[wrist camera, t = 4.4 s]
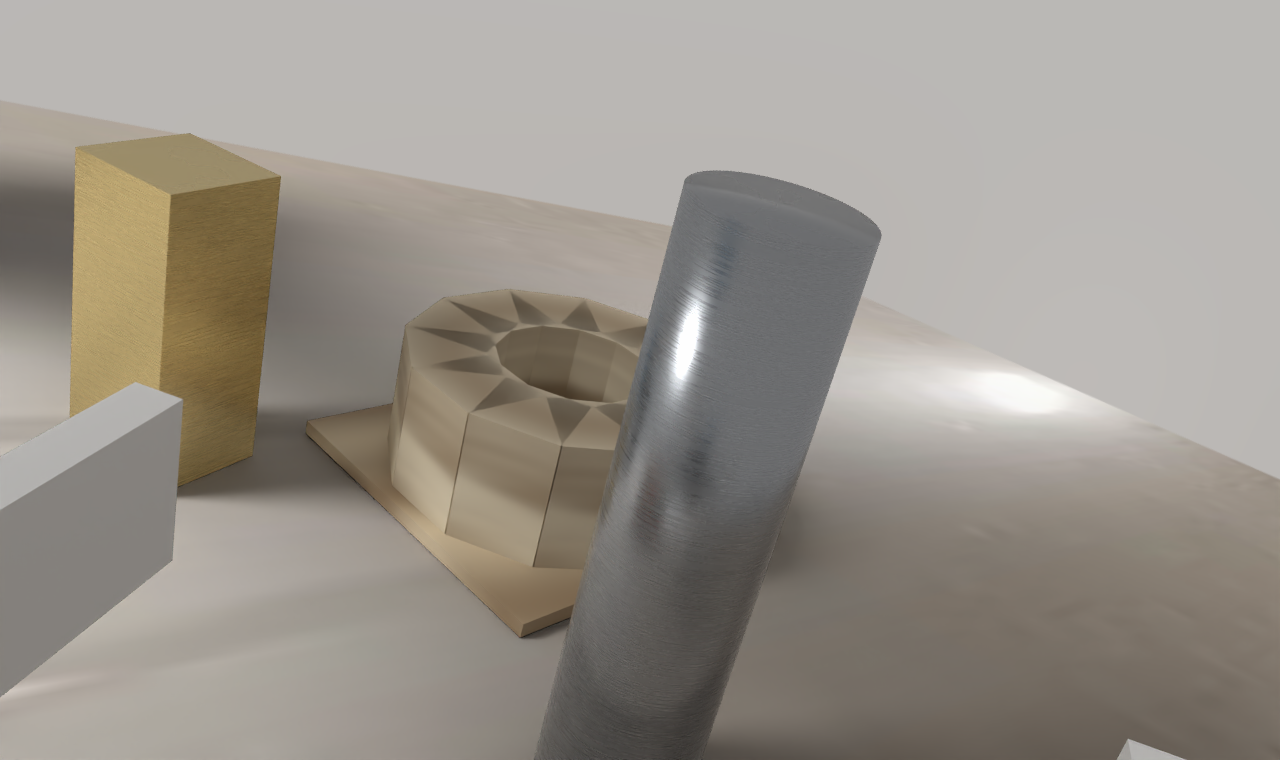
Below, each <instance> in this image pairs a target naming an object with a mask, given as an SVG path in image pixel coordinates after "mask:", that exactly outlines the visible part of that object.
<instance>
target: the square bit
mask: <svg viewBox="0 0 1280 760" xmlns="http://www.w3.org/2000/svg"><path fill="white" fill-rule="evenodd" d="M280 181H281V176H279V175H277V174H275V173H273V172H271V171H269V170H267V169H265V168H263V167H260V166H258V165H256V164H254V163H252V162H250V161H248V160H246V159H243V158H241V157H239V156H237V155H235V154H233V153H231V152H229V151H226V150H224V149H222V148H220V147H218V146H216V145H214V144H212V143H209V142H207V141H205V140H203V139H201V138H199V137H197V136H194V135H192V134H190V133H189V134H180V135H171V136H163V137H155V138H146V139H138V140H130V141H121V142H113V143H104V144H96V145H88V146H79V147H76V154H75V200H74V247H73V293H72V340H71V386H70V418H71V417H73V416H75V415H76V414H78V413H80V412H82V411H84V410H85V409H87V408H89V407H91V406H93V405H95V404H96V403H98V402H100V401H102V400H104V399H105V398H107V397H109V396H111V395H113V394H114V393H116V392H118V391H120V390H122V389H124V388H125V387H127V386H129V385H131V384H133V383H134V382H137V383H139V384H142V385H145V386H148V387H151V388H153V389H156V390H159V391H162V392H164V393H167V394H170V395H173V396H176V397H178V398H181V399H183V410H182V425H181V439H180V454H179V469H178V483H177V487H179V486H181V485H184V484H186V483H188V482H191V481H193V480H196V479H198V478H200V477H203V476H205V475H208V474H210V473H212V472H215V471H217V470H219V469H222V468H224V467H227V466H229V465H231V464H234V463H236V462H238V461H241V460H243V459H246V458H248V457H250V456H252V455H253V445H254V436H255V426H256V416H257V406H258V396H259V387H260V377H261V367H262V357H263V347H264V338H265V328H266V318H267V308H268V298H269V288H270V279H271V269H272V259H273V249H274V239H275V230H276V220H277V210H278V200H279V190H280Z"/></svg>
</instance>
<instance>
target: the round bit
mask: <svg viewBox="0 0 1280 760" xmlns="http://www.w3.org/2000/svg"><path fill="white" fill-rule="evenodd" d="M880 240H881V232H880V229H879V228H878V227H877V225H876V224H875V223H874V222H873V221H872V220H870V219H869V218H868V217H867V216H865V215H864V214H862V213H861V212H859V211H858V210H856V209H854V208H853V207H851V206H849V205H847V204H845V203H843V202H841V201H839V200H836V199H834V198H832V197H830V196H827V195H825V194H822V193H819V192H817V191H814V190H811V189H809V188H805V187H803V186H799V185H796V184H793V183H789V182H786V181H782V180H778V179H774V178H769V177H765V176H760V175H755V174H748V173H742V172H732V171H703V172H697V173H694V174H691V175H690V176H688V177H687V178H686V179H685V181H684V185H683V189H682V193H681V197H680V201H679V205H678V208H677V212H676V216H675V220H674V224H673V227H672V231H671V235H670V239H669V243H668V246H667V250H666V254H665V258H664V262H663V266H662V269H661V273H660V277H659V281H658V285H657V289H656V292H655V296H654V300H653V304H652V308H651V312H650V316H649V319H648V323H647V327H646V331H645V335H644V339H643V342H642V346H641V350H640V354H639V358H638V362H637V365H636V369H635V373H634V377H633V381H632V385H631V388H630V392H629V396H628V400H627V404H626V408H625V411H624V415H623V419H622V423H621V427H620V431H619V434H618V438H617V442H616V446H615V450H614V454H613V457H612V461H611V465H610V469H609V473H608V477H607V480H606V484H605V488H604V492H603V496H602V500H601V503H600V507H599V511H598V515H597V519H596V523H595V526H594V530H593V534H592V538H591V542H590V546H589V549H588V553H587V557H586V561H585V565H584V569H583V573H582V576H581V580H580V584H579V588H578V592H577V596H576V599H575V603H574V607H573V611H572V615H571V619H570V622H569V626H568V630H567V634H566V638H565V642H564V645H563V649H562V653H561V657H560V661H559V665H558V668H557V672H556V676H555V680H554V684H553V688H552V691H551V695H550V699H549V703H548V707H547V711H546V714H545V718H544V722H543V726H542V730H541V734H540V737H539V741H538V745H537V749H536V753H535V757H534V760H701V758H702V756H703V753H704V750H705V747H706V744H707V741H708V738H709V735H710V732H711V729H712V727H713V724H714V721H715V718H716V715H717V712H718V709H719V706H720V703H721V701H722V698H723V695H724V692H725V689H726V686H727V683H728V680H729V677H730V674H731V672H732V669H733V666H734V663H735V660H736V657H737V654H738V651H739V648H740V645H741V643H742V640H743V637H744V634H745V631H746V628H747V625H748V622H749V619H750V617H751V614H752V611H753V608H754V605H755V602H756V599H757V596H758V593H759V590H760V588H761V585H762V582H763V579H764V576H765V573H766V570H767V567H768V564H769V561H770V559H771V556H772V553H773V550H774V547H775V544H776V541H777V538H778V535H779V532H780V530H781V527H782V524H783V521H784V518H785V515H786V512H787V509H788V506H789V504H790V501H791V498H792V495H793V492H794V489H795V486H796V483H797V480H798V477H799V475H800V472H801V469H802V466H803V463H804V460H805V457H806V454H807V451H808V448H809V446H810V443H811V440H812V437H813V434H814V431H815V428H816V425H817V422H818V420H819V417H820V414H821V411H822V408H823V405H824V402H825V399H826V396H827V393H828V391H829V388H830V385H831V382H832V379H833V376H834V373H835V370H836V367H837V364H838V362H839V359H840V356H841V353H842V350H843V347H844V344H845V341H846V338H847V336H848V333H849V330H850V327H851V324H852V321H853V318H854V315H855V312H856V309H857V307H858V304H859V301H860V298H861V295H862V292H863V289H864V286H865V283H866V280H867V278H868V275H869V272H870V269H871V266H872V263H873V260H874V257H875V254H876V251H877V249H878V246H879V243H880Z"/></svg>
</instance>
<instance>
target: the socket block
mask: <svg viewBox="0 0 1280 760" xmlns="http://www.w3.org/2000/svg"><path fill="white" fill-rule="evenodd" d="M647 323H648V319H646V318H643V317H640V316H637V315H634V314H631V313H628V312H625V311H622V310H619V309H616V308H613V307H610V306H607V305H604V304H601V303H598V302H595V301H592V300H589V299H585V298H579V297H570V296H562V295H554V294H546V293H537V292H529V291H521V290H512V289H505V290H497V291H490V292H482V293H475V294H467V295H460V296H452V297H445V298H442V299H441V300H439V301H438V302H437V303H435V304H434V305H432V306H431V307H430V308H428V309H427V310H426V311H424V312H423V313H421V314H420V315H419V316H417V317H416V318H414V319H413V320H412V321H410V322H409V323H408V324H406V325H405V331H404V338H403V344H402V350H401V356H400V363H399V369H398V375H397V381H396V388H395V394H394V400H393V403H392V404H387V405H382V406H378V407H373V408H368V409H363V410H358V411H353V412H348V413H343V414H338V415H333V416H328V417H323V418H319V419H314V420H309V421H307V426H306V434H307V435H308V436H310V437H311V438H312V439H313V440H314V441H315V442H316V443H317V444H318V445H319V446H320V447H321V448H322V449H323V450H324V451H325V452H326V453H327V454H328V455H329V456H330V457H332V458H333V459H334V460H335V461H336V462H337V463H338V464H339V465H340V466H341V467H342V468H343V469H344V470H345V471H346V472H347V473H348V474H349V475H350V476H351V477H352V478H354V479H355V480H356V481H357V482H358V483H359V484H360V485H361V486H362V487H363V488H364V489H365V490H366V491H367V492H368V493H369V494H370V495H371V496H372V497H373V498H374V499H376V500H377V501H378V502H379V503H380V504H381V505H382V506H383V507H384V508H385V509H386V510H387V511H388V512H389V513H390V514H391V515H392V516H393V517H394V518H395V519H396V520H398V521H399V522H400V523H401V524H402V525H403V526H404V527H405V528H406V529H407V530H408V531H409V532H410V533H411V534H412V535H413V536H414V537H415V538H416V539H417V540H418V541H420V542H421V543H422V544H423V545H424V546H425V547H426V548H427V549H428V550H429V551H430V552H431V553H432V554H433V555H434V556H435V557H436V558H437V559H438V560H439V561H440V562H442V563H443V564H444V565H445V566H446V567H447V568H448V569H449V570H450V571H451V572H452V573H453V574H454V575H455V576H456V577H457V578H458V579H459V580H460V581H461V582H462V583H464V584H465V585H466V586H467V587H468V588H469V589H470V590H471V591H472V592H473V593H474V594H475V595H476V596H477V597H478V598H479V599H480V600H481V601H482V602H483V603H484V604H486V605H487V606H488V607H489V608H490V609H491V610H492V611H493V612H494V613H495V614H496V615H497V616H498V617H499V618H500V619H501V620H502V621H503V622H504V623H505V624H506V625H508V626H509V627H510V628H511V629H512V630H513V631H514V632H515V633H516V634H517V635H518V636H519V637H523V636H525V635H528V634H530V633H533V632H535V631H538V630H540V629H543V628H545V627H547V626H550V625H552V624H555V623H557V622H560V621H562V620H565V619H567V618H570V617H571V615H572V611H573V607H574V603H575V599H576V596H577V592H578V588H579V584H580V580H581V576H582V573H583V569H584V565H585V561H586V557H587V553H588V549H589V546H590V542H591V538H592V534H593V530H594V526H595V523H596V519H597V515H598V511H599V507H600V503H601V500H602V496H603V492H604V488H605V484H606V480H607V477H608V473H609V469H610V465H611V461H612V457H613V454H614V450H615V446H616V442H617V438H618V434H619V431H620V427H621V423H622V419H623V415H624V411H625V408H626V404H627V400H628V396H629V392H630V388H631V385H632V381H633V377H634V373H635V369H636V365H637V362H638V358H639V354H640V350H641V346H642V342H643V339H644V335H645V331H646V327H647Z"/></svg>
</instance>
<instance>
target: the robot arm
mask: <svg viewBox="0 0 1280 760" xmlns="http://www.w3.org/2000/svg"><path fill="white" fill-rule="evenodd" d="M182 410H183V399H181V398H178V397H176V396H173V395H170V394H167V393H164V392H162V391H159V390H156V389H153V388H151V387H148V386H145V385H142V384H139V383H137V382H134V383H133V384H131V385H129V386H127V387H125V388H124V389H122V390H120V391H118V392H116V393H114V394H113V395H111V396H109V397H107V398H105V399H104V400H102V401H100V402H98V403H96V404H95V405H93V406H91V407H89V408H87V409H85V410H84V411H82V412H80V413H78V414H76V415H75V416H73V417H71V418H69V419H67V420H65V421H64V422H62V423H60V424H58V425H56V426H55V427H53V428H51V429H49V430H47V431H45V432H44V433H42V434H40V435H38V436H36V437H35V438H33V439H31V440H29V441H27V442H25V443H24V444H22V445H20V446H18V447H16V448H15V449H13V450H11V451H9V452H7V453H6V454H4V455H2V456H0V697H1V696H2V695H4V694H5V693H6V692H7V691H9V690H10V689H11V688H13V687H14V686H15V685H16V684H18V683H19V682H20V681H21V680H23V679H24V678H25V677H26V676H28V675H29V674H30V673H31V672H33V671H34V670H35V669H36V668H38V667H39V666H40V665H41V664H43V663H44V662H45V661H46V660H48V659H49V658H50V657H52V656H53V655H54V654H55V653H57V652H58V651H59V650H60V649H62V648H63V647H64V646H65V645H67V644H68V643H69V642H70V641H72V640H73V639H74V638H75V637H77V636H78V635H79V634H80V633H82V632H83V631H84V630H85V629H87V628H88V627H89V626H90V625H92V624H93V623H94V622H96V621H97V620H98V619H99V618H101V617H102V616H103V615H104V614H106V613H107V612H108V611H109V610H111V609H112V608H113V607H114V606H116V605H117V604H118V603H119V602H121V601H122V600H123V599H124V598H126V597H127V596H128V595H129V594H131V593H132V592H133V591H135V590H136V589H137V588H138V587H140V586H141V585H142V584H143V583H145V582H146V581H147V580H148V579H150V578H151V577H152V576H153V575H155V574H156V573H157V572H158V571H160V570H161V569H162V568H163V567H165V566H166V565H167V564H168V563H170V562H171V561H172V556H173V542H174V527H175V512H176V498H177V483H178V469H179V454H180V439H181V425H182ZM1117 760H1186V759H1183V758H1180V757H1177V756H1175V755H1172V754H1169V753H1166V752H1163V751H1161V750H1158V749H1155V748H1152V747H1149V746H1147V745H1144V744H1141V743H1138V742H1136V741H1133V740H1130V739H1128V740H1127V741H1126V743H1125V745H1124V747H1123V749H1122V751H1121V753H1120V755H1119V756H1118V758H1117Z"/></svg>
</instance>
